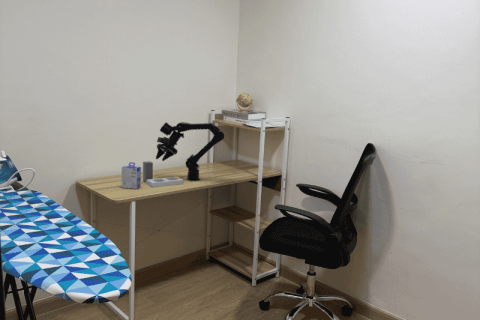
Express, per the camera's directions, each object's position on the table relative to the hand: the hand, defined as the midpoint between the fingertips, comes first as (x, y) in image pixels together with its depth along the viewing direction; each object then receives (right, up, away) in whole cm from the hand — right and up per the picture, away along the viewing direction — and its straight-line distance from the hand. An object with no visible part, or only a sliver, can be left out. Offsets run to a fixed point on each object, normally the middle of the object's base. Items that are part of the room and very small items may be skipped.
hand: (159, 159), depth 257 cm
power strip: (+4, -15, -5) cm, 16 cm away
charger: (-7, -13, 0) cm, 15 cm away
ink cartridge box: (-13, -16, -16) cm, 26 cm away
